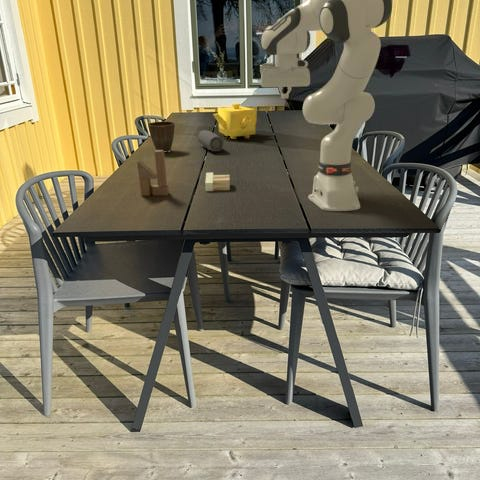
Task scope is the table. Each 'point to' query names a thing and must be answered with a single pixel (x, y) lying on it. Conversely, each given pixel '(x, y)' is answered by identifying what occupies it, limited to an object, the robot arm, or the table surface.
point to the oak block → (221, 182)
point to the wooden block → (153, 177)
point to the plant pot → (162, 134)
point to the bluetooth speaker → (210, 140)
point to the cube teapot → (236, 121)
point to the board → (209, 182)
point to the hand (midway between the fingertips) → (284, 98)
